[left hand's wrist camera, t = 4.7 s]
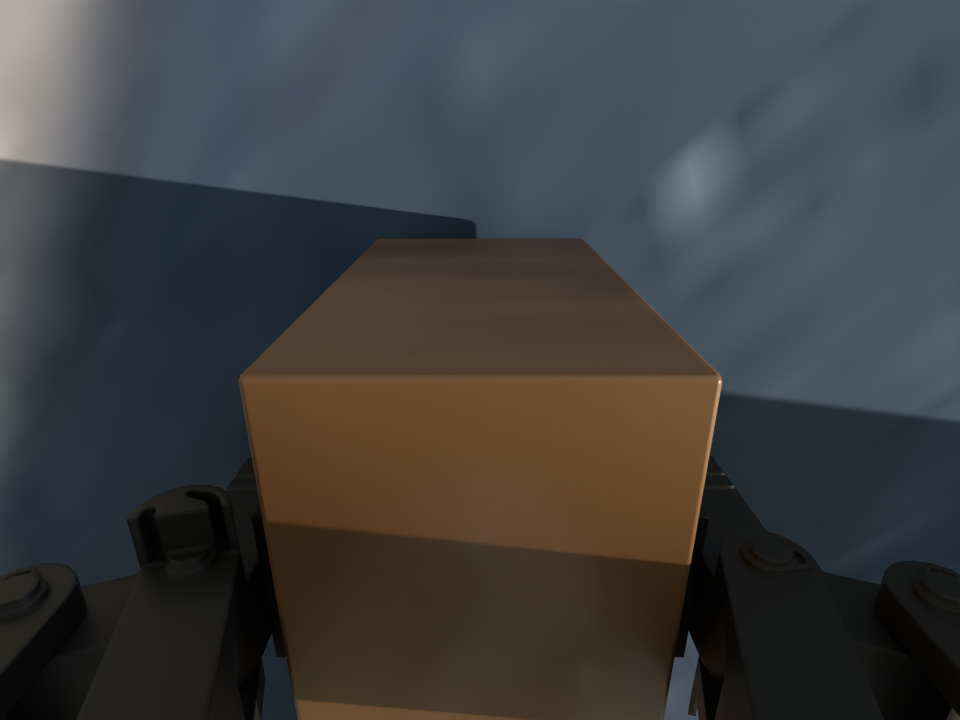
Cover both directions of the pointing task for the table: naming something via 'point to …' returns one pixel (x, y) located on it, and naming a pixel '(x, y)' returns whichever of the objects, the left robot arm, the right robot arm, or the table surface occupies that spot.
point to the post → (480, 485)
